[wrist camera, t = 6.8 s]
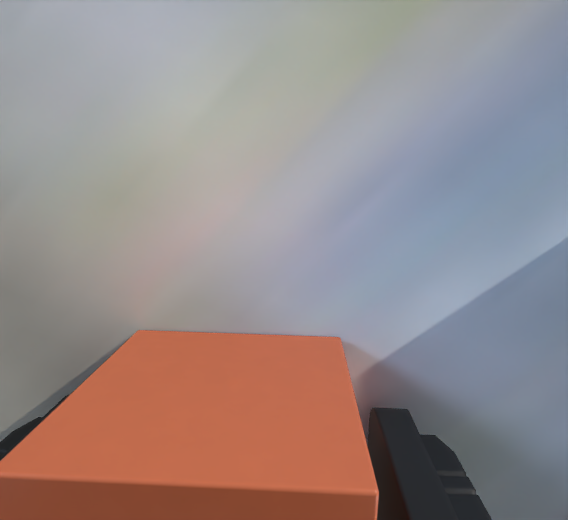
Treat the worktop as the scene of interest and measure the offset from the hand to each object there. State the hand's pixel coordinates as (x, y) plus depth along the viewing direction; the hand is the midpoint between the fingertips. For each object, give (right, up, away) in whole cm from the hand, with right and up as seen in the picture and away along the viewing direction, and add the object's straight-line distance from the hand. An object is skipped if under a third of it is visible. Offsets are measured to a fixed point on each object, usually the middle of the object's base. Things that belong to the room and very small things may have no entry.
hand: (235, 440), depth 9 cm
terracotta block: (0, 0, +1) cm, 1 cm away
